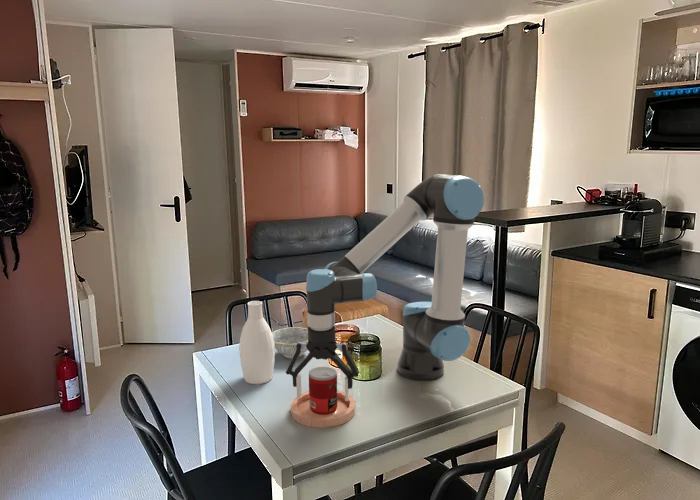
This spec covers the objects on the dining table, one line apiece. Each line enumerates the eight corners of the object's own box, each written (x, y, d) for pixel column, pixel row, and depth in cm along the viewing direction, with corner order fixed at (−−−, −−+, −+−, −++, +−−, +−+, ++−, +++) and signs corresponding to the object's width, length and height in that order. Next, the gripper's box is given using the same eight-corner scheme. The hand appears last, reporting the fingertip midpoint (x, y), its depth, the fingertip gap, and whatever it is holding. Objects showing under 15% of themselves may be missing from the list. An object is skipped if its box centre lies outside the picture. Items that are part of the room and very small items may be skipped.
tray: (357, 396, 159) (357, 390, 159) (351, 428, 142) (351, 421, 141) (298, 394, 161) (298, 387, 161) (285, 425, 144) (284, 418, 143)
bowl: (296, 367, 180) (296, 346, 179) (260, 357, 189) (259, 337, 187) (323, 351, 194) (323, 331, 192) (289, 343, 202) (288, 324, 200)
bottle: (267, 368, 180) (264, 295, 175) (281, 380, 171) (278, 304, 166) (235, 376, 174) (231, 301, 169) (248, 389, 165) (244, 310, 160)
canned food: (334, 416, 147) (333, 379, 145) (306, 413, 149) (305, 377, 146) (340, 403, 154) (339, 367, 152) (313, 400, 156) (312, 365, 154)
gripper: (367, 322, 149) (368, 393, 153) (279, 320, 151) (282, 390, 156) (365, 332, 141) (366, 406, 146) (273, 329, 144) (276, 402, 148)
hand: (323, 397), depth 151 cm, fingers open, 13 cm apart
